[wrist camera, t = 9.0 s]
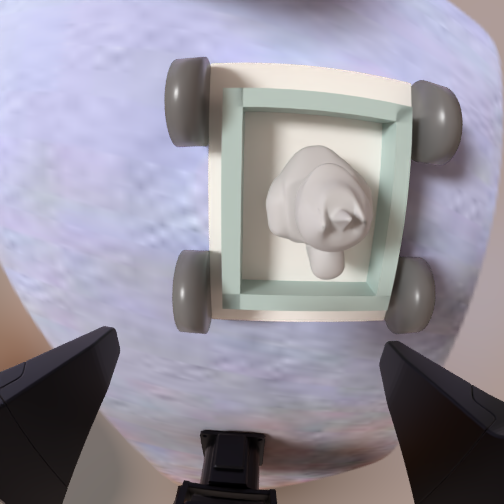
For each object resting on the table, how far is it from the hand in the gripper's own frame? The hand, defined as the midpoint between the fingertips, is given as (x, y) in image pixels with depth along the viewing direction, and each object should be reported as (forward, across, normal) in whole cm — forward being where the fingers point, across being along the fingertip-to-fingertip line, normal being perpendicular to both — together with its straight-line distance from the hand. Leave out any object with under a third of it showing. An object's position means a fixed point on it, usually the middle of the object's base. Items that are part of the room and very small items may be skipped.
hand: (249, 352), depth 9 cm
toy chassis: (+11, -3, -3) cm, 12 cm away
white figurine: (+10, -3, -3) cm, 11 cm away
